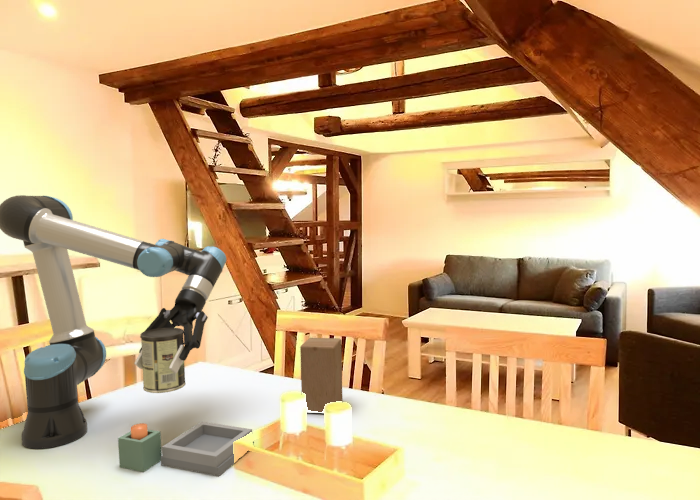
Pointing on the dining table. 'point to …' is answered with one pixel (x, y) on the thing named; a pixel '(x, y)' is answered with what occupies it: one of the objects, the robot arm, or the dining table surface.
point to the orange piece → (139, 431)
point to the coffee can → (161, 360)
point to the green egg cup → (140, 451)
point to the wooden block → (321, 372)
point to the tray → (203, 448)
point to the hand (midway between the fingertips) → (155, 368)
